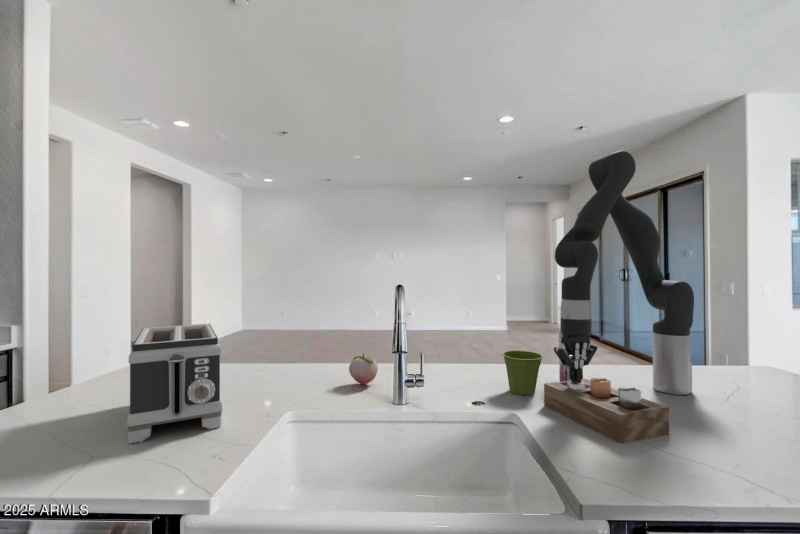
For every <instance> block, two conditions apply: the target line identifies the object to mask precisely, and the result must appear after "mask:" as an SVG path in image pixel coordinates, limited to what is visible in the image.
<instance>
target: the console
mask: <svg viewBox="0 0 800 534" xmlns="http://www.w3.org/2000/svg"><path fill="white" fill-rule="evenodd" d="M570 381H571V380H570ZM581 381H582V382H584V383H585V388H584V389H576V390H575V389H573V388H570V387H568V386H567V381H561V382H560V381H556V382H555V381H552V382H545V383H543V398H544V399H543V405H544V407H545V406H546V408H547V407H548V409H549V410H552V411H553V412H556V413H558V414H560V415H561V416H564V417H566V418H568V419H570V420H573V422H574V421H575V422H577V423H578V424H580V425H583V426H585V428H586V427H587V428H588V429H590V430H593V431H595V432H597V433H599V434H601V435H603V436H605V437H607V438H609V439H611V440H612V441H615V442H618V443H619V444H627V443H631V442H637V441H642V440H646V439H647V440H648V439H652V438H656V437H663V436H667V435H670V407H669V406H667V405H664V404H660V403H657V402H654V401H652V400H649V399H646V398H643V397H641V408H640V409H627V408H623V407H621V406H619V405H618V388H614V387H611V397H610V398H599V397H595V396H592V395H591V379H588V378H583V379H582V380H581Z"/></svg>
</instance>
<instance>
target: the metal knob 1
mask: <svg viewBox="0 0 800 534" xmlns="http://www.w3.org/2000/svg"><path fill="white" fill-rule="evenodd" d="M567 386H568V387H570V388H573V389H575V390H576V389H584V388H585V383H584V382H582V381H581V382H578V383H575V382H572V381H567Z"/></svg>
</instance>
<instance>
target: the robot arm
mask: <svg viewBox="0 0 800 534" xmlns="http://www.w3.org/2000/svg"><path fill="white" fill-rule="evenodd" d="M636 166H637V165H636V160H635V158H634V156H633V155H632V154H631V153H630V152H628V151H627V150H618V151H615V152H612V153H609V154H607V155H605V156H602V157H601V158H598V159H596V160H593V161H592V162H591V163H590V164H589V167H588V177H589V180H590V182H591V183H592V186H593V187H594V189H595V191H596V192H595V194H594V195H593V196H591V198H590V199H589V200H588V201H587V202H586V203H585V204H584V205H583V207H581V210H580V211H579V213H578V215H577V218H576V220H575V222H574V224H573V226H572V228H571V229H570V230H569V231H568V232H567V233H566V234H565V235H564V236H563V237H562V238H561V239H560V240H559V243H557V246H556V248H555V251H554V260H555V262H556V264H557V266H559V267H561V268H565V269H576V268H577V270H576V272H575V273H574V275H571V276H567V277H565V278H563V279H562V281H561V300H560V301H561V303H560V309H559V310H560V316H559V319H560V322H559V323H560V329H559V332H561V333H562V339H561V344H560V345H559V344H558V346H557V347H556V346H555V347H554V348H553V351H554V353H555V355H556V356H557V358H558V360H559V359H560V360H561V362H562V363H563V365H566V366H569V368H570V379H571V381H572V382H575V383H578V382H581V380H582V368H583V369H584V367H585V366H589V364H590V362H591V361H592V360H593V357H594V355H595V354H596V352H597V351H598V346H597V345H593V344H592V342H591V338H590V336H592V303H591V285H592V280H593V277H594V272H595V269H596V266H597V263H598V260H599V251H598V247H597V246H596V244H595V243H593V242H596V241H597V240H598V238H599V237H600V235H601V233H602V231H603V228H604V225H605V223H606V222H607V219H608V216H609V215H610V216H611V218H612V220H613V221H612V222H613V223H614V226H615V227H616V229H617V232H618V234H619V236H620V238H621V241H622V243H623V245H624V247H625V248H626V250H627V253H628V254H629V255H628V256H630V259H631V262H632V263H633V264H632V265H633V266H634V268H635V270H636V272H637V275H638V278H639V281H640V285H641V287H642V290H643V293H644V296H645V299H646V301H647V302H648V304H649V305H650V306H651V307H652V308H654V309H656V310H661V311H665V315H664V318H663V319H661V320H659V321H656V322H654V323H653V324H652V388H653V390H656V391H658V392H661V393H665V394H668V395H669V394H670V395H679V396H685V395H690V394H691V393H692V392H693V361H692V359H691V328H692V326H693V323H694V309H695V308H694V307H695V306H694V305H695V295H694V291H693V288H692V286H691V285H690V283H688V282H686V281H684V280H673V279H672V280H668V279H667V280H666V278H665V276H664V275H663V273H662V271H661V269H660V266H659V253H660V249H661V236H660V234H659V231H658V230H657V228H656V226H655V223H654V221H653V219H652V218H651V217H650V216H649V214H647V213H646V212H645V211H643V210H641V209H640V208H639V207H637V206H636V205H634V204H633V203H631V202H630V201H629V200H628V199H626V198H625V197H624V195H623V192H624V191H625V189H626V188H627V187H628V185H629V184H630V183H631V181H632V179H633V177H634V176H635V173H636Z"/></svg>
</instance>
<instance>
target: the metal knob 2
mask: <svg viewBox="0 0 800 534" xmlns="http://www.w3.org/2000/svg"><path fill="white" fill-rule="evenodd" d="M617 390H618V405H619V406H621V407H623V408H627V409H640V408H641V398H642V391H641V390H640V389H638V388H636V387H629V386H620V387H618V388H617Z"/></svg>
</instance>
